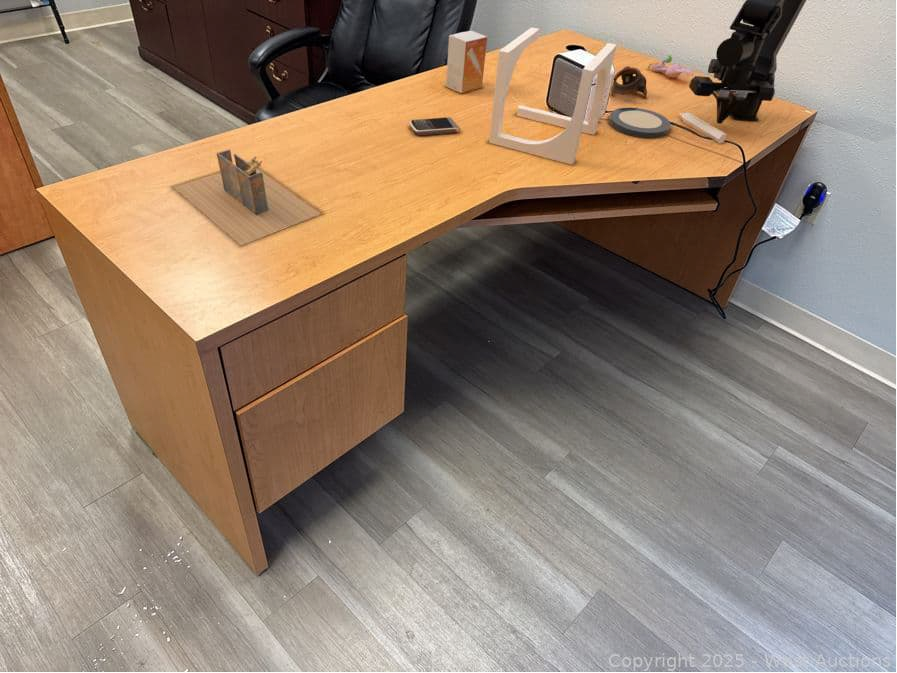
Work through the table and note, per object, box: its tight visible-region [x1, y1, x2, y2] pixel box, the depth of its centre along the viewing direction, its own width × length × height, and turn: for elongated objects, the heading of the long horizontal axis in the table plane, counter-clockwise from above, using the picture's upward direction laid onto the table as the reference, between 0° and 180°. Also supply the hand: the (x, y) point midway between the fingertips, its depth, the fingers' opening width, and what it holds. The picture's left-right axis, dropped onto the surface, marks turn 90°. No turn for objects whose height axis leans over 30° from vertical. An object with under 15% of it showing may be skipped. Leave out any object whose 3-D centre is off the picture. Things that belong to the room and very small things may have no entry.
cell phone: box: [409, 116, 460, 136], centre depth 140 cm, size 6×11×1 cm, turn 108°
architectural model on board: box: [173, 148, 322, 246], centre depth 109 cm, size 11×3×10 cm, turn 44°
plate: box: [608, 107, 672, 139], centre depth 150 cm, size 15×15×2 cm
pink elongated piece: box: [647, 54, 694, 79], centre depth 176 cm, size 6×6×15 cm
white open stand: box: [488, 26, 618, 166], centre depth 135 cm, size 20×20×20 cm
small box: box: [445, 29, 488, 94], centre depth 157 cm, size 8×6×13 cm
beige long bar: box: [678, 112, 727, 144], centre depth 150 cm, size 3×2×16 cm
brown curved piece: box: [610, 65, 648, 99], centre depth 163 cm, size 12×10×8 cm
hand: (718, 123), depth 149 cm, fingers closed
